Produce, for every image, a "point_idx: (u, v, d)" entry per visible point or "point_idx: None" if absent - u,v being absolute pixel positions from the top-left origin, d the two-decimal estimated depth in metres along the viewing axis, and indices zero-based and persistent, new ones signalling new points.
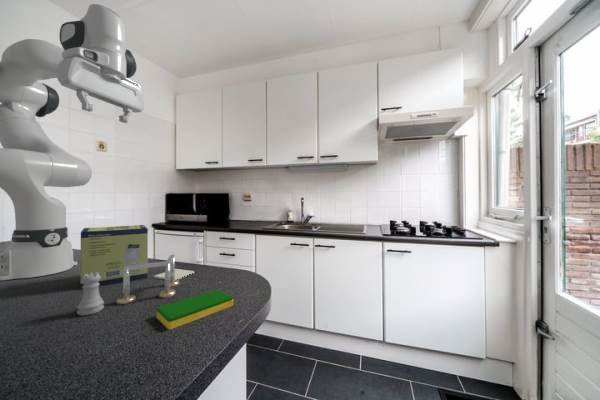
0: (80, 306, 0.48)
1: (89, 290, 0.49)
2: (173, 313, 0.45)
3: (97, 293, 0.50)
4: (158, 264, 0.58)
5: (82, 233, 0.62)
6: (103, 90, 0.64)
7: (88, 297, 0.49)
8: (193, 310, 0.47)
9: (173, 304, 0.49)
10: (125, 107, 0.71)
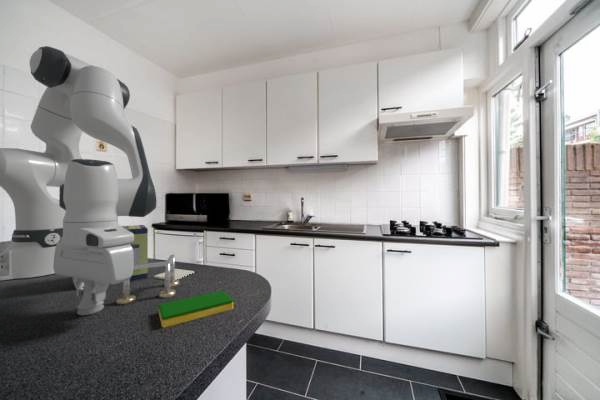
0: (80, 306, 0.48)
1: (89, 290, 0.49)
2: (169, 311, 0.46)
3: None
4: (158, 264, 0.58)
5: None
6: None
7: (88, 297, 0.49)
8: (188, 310, 0.47)
9: (174, 302, 0.50)
10: None
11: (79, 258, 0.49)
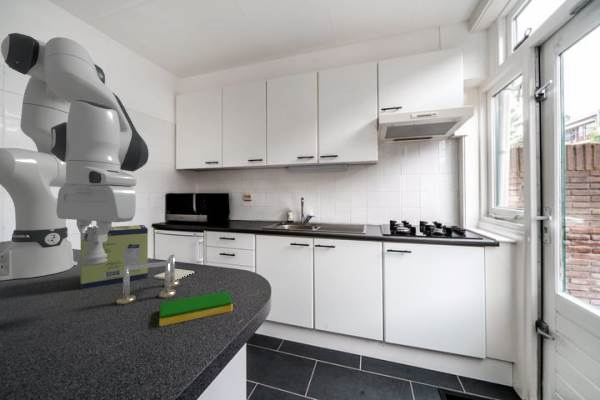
0: (84, 256, 0.49)
1: (93, 241, 0.50)
2: (167, 310, 0.47)
3: (101, 245, 0.51)
4: (158, 264, 0.58)
5: None
6: None
7: (92, 248, 0.49)
8: (186, 310, 0.47)
9: (176, 301, 0.51)
10: (86, 219, 0.51)
11: (82, 200, 0.49)
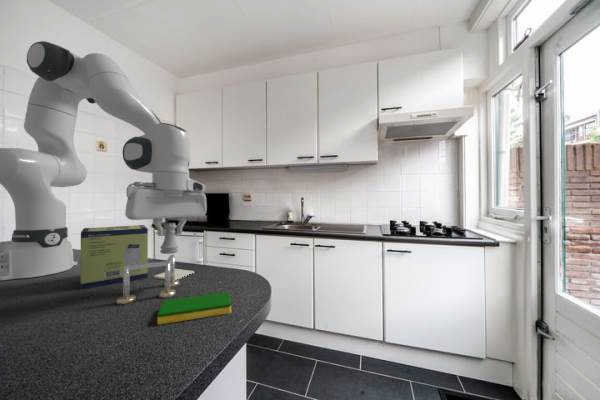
0: (173, 246, 0.63)
1: (174, 234, 0.64)
2: (166, 309, 0.47)
3: None
4: (158, 264, 0.58)
5: (82, 233, 0.62)
6: None
7: None
8: (184, 310, 0.47)
9: (177, 300, 0.51)
10: None
11: (169, 202, 0.62)
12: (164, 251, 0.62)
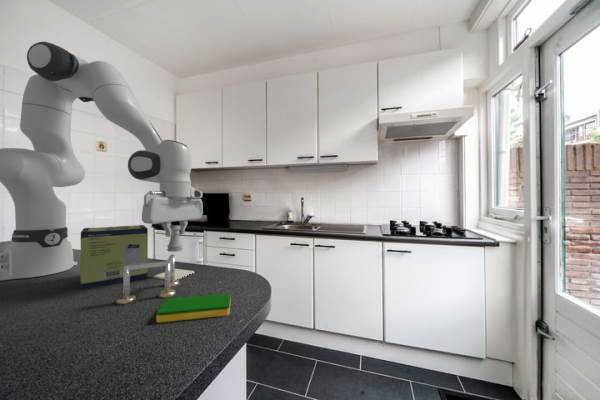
0: (179, 244, 0.74)
1: None
2: (166, 308, 0.48)
3: None
4: (158, 264, 0.58)
5: (82, 233, 0.62)
6: None
7: (179, 239, 0.75)
8: (182, 310, 0.47)
9: (179, 299, 0.52)
10: None
11: (176, 207, 0.73)
12: (172, 249, 0.72)
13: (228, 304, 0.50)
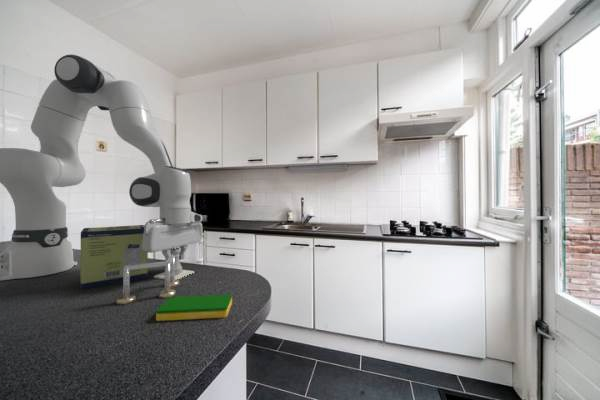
0: (179, 267, 0.74)
1: None
2: (166, 306, 0.48)
3: None
4: (158, 264, 0.58)
5: (82, 233, 0.62)
6: None
7: (179, 261, 0.75)
8: (180, 309, 0.47)
9: (181, 298, 0.52)
10: None
11: (175, 233, 0.73)
12: None
13: (226, 306, 0.49)
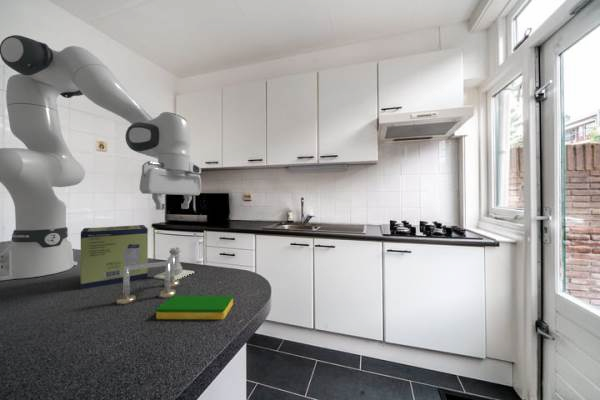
0: (179, 267, 0.74)
1: None
2: (166, 305, 0.49)
3: None
4: (158, 264, 0.58)
5: (82, 233, 0.62)
6: None
7: (179, 261, 0.75)
8: (179, 309, 0.48)
9: (183, 297, 0.53)
10: None
11: (174, 180, 0.72)
12: None
13: (223, 307, 0.48)
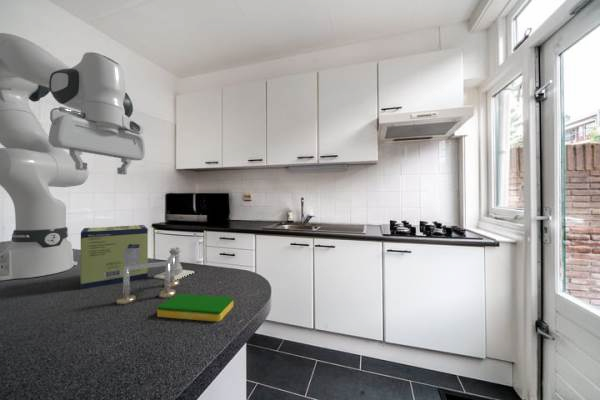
0: (179, 267, 0.74)
1: None
2: (167, 303, 0.50)
3: None
4: (158, 264, 0.58)
5: (82, 233, 0.62)
6: None
7: (179, 261, 0.75)
8: (177, 308, 0.48)
9: (185, 296, 0.53)
10: None
11: (102, 136, 0.59)
12: None
13: (220, 310, 0.47)
